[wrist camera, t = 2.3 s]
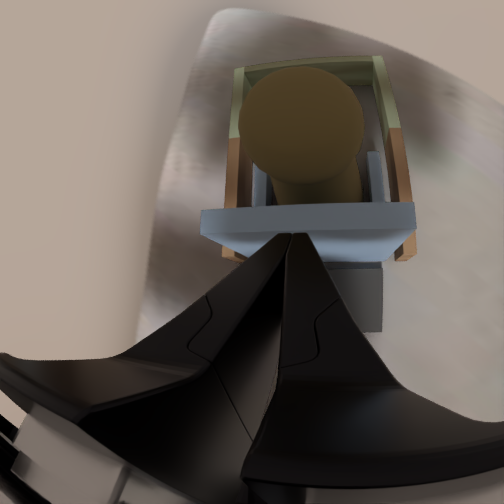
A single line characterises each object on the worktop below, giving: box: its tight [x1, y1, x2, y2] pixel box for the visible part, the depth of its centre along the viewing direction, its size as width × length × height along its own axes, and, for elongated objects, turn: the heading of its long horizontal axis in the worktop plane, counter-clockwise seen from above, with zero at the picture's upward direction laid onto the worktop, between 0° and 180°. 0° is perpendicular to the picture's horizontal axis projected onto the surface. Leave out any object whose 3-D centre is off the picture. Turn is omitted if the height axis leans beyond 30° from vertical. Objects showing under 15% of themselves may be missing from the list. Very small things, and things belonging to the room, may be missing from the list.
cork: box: [238, 66, 365, 205], centre depth 15 cm, size 6×6×11 cm
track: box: [222, 56, 417, 263], centre depth 20 cm, size 15×11×3 cm
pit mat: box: [327, 268, 383, 332], centre depth 19 cm, size 4×8×1 cm, turn 89°
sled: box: [200, 151, 417, 262], centre depth 16 cm, size 7×8×9 cm
